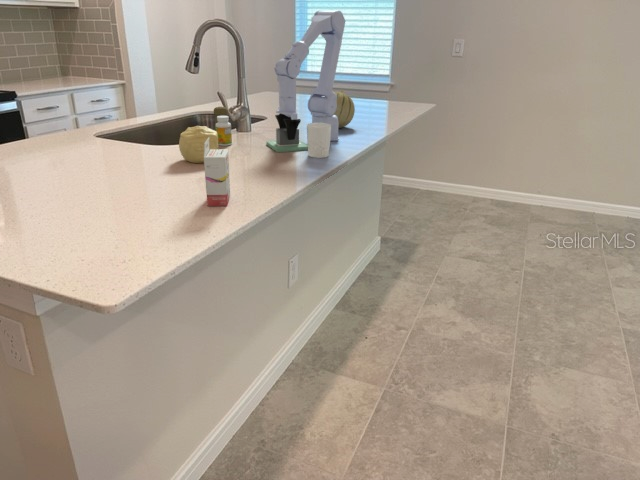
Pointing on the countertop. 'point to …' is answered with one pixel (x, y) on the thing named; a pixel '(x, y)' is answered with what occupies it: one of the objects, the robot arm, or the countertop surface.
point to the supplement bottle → (223, 131)
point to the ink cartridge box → (216, 175)
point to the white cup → (318, 139)
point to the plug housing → (285, 137)
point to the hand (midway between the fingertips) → (287, 137)
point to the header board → (287, 146)
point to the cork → (220, 113)
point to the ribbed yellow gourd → (344, 109)
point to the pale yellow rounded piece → (197, 143)
